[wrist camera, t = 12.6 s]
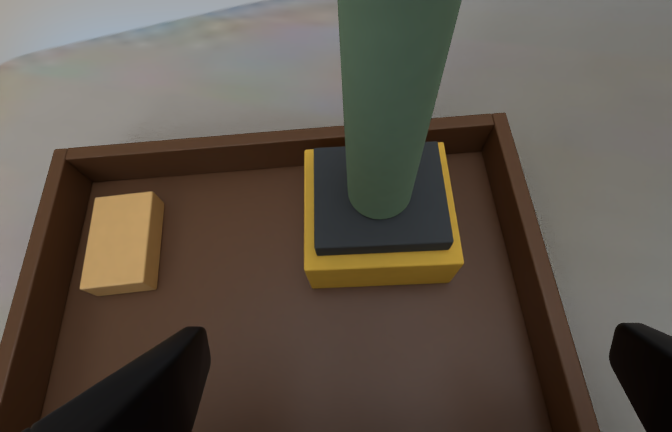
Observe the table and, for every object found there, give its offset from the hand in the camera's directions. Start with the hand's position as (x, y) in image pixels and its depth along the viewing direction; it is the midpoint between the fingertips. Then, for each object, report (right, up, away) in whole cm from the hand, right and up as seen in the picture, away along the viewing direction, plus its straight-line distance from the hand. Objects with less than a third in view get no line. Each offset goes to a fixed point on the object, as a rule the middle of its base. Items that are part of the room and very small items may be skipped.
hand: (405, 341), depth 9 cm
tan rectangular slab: (-10, +1, +8) cm, 13 cm away
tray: (-3, -1, +8) cm, 8 cm away
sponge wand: (0, +2, +8) cm, 8 cm away
